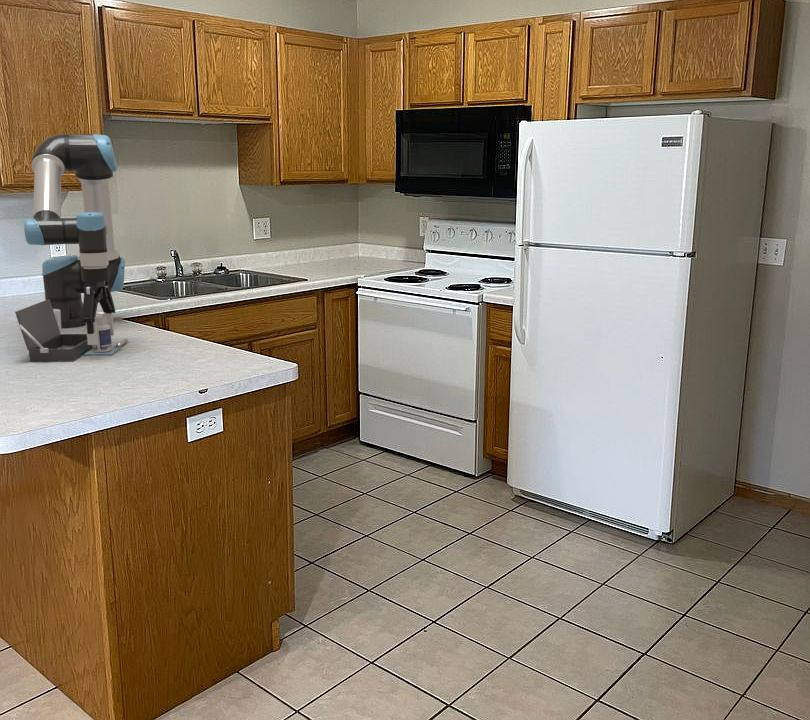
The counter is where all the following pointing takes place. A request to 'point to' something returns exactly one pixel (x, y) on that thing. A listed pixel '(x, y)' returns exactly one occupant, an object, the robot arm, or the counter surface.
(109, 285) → the robot arm
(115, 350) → the mat
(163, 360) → the counter surface
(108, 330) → the pill bottle
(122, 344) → the rod
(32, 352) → the case
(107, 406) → the counter surface
